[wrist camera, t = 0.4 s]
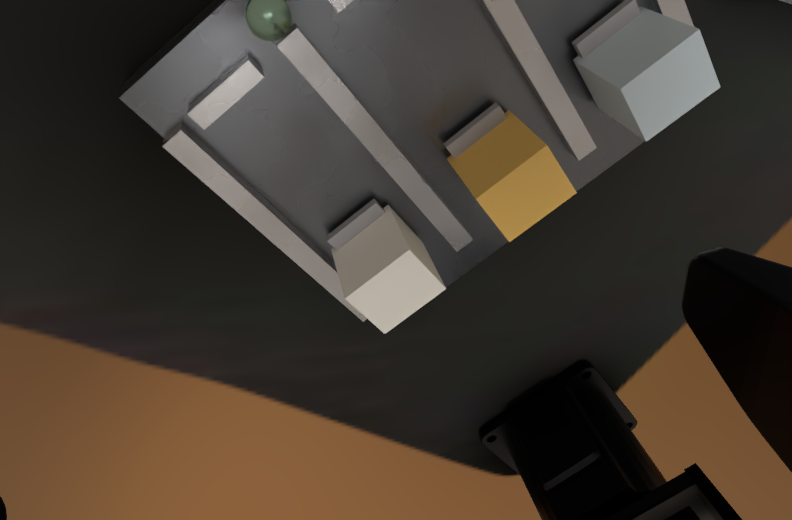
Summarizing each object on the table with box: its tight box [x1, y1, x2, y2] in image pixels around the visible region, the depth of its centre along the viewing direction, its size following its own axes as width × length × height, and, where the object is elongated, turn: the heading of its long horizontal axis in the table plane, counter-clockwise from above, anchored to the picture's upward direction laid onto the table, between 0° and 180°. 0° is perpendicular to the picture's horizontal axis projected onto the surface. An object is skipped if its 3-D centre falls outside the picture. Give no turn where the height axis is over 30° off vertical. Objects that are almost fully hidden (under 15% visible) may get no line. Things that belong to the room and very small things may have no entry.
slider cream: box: [326, 199, 446, 334], centre depth 19 cm, size 3×2×3 cm
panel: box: [119, 0, 694, 322], centre depth 19 cm, size 12×14×2 cm
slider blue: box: [572, 0, 720, 142], centre depth 18 cm, size 3×2×3 cm
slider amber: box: [443, 102, 577, 242], centre depth 18 cm, size 3×2×3 cm
